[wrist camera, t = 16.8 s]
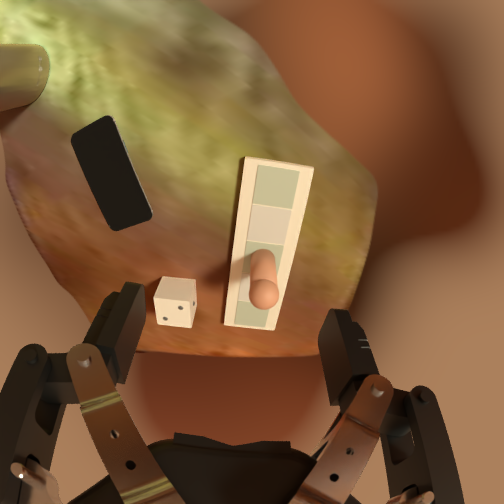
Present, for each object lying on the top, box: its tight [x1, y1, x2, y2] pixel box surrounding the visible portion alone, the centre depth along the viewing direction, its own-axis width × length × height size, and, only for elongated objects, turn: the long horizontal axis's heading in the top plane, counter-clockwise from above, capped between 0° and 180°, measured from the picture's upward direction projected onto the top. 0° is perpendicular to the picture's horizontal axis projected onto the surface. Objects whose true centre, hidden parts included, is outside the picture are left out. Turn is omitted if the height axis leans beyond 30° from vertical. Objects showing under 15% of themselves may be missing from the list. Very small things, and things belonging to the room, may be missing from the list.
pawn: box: [249, 249, 279, 310], centre depth 35 cm, size 3×3×9 cm
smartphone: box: [71, 115, 153, 231], centre depth 34 cm, size 7×1×15 cm
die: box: [153, 276, 197, 328], centre depth 41 cm, size 5×5×5 cm
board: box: [224, 156, 314, 330], centre depth 40 cm, size 8×26×1 cm, turn 172°
